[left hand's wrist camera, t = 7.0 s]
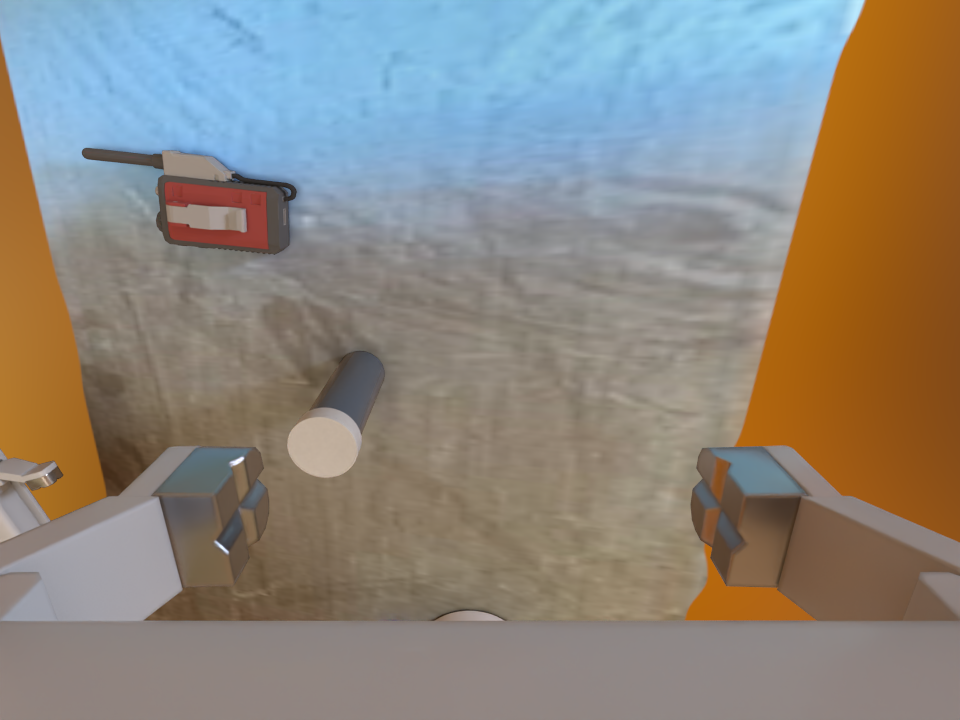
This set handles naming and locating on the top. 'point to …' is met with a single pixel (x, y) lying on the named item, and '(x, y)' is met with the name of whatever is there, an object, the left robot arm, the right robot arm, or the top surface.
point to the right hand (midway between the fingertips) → (84, 517)
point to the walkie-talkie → (212, 202)
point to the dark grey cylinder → (353, 387)
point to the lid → (324, 442)
